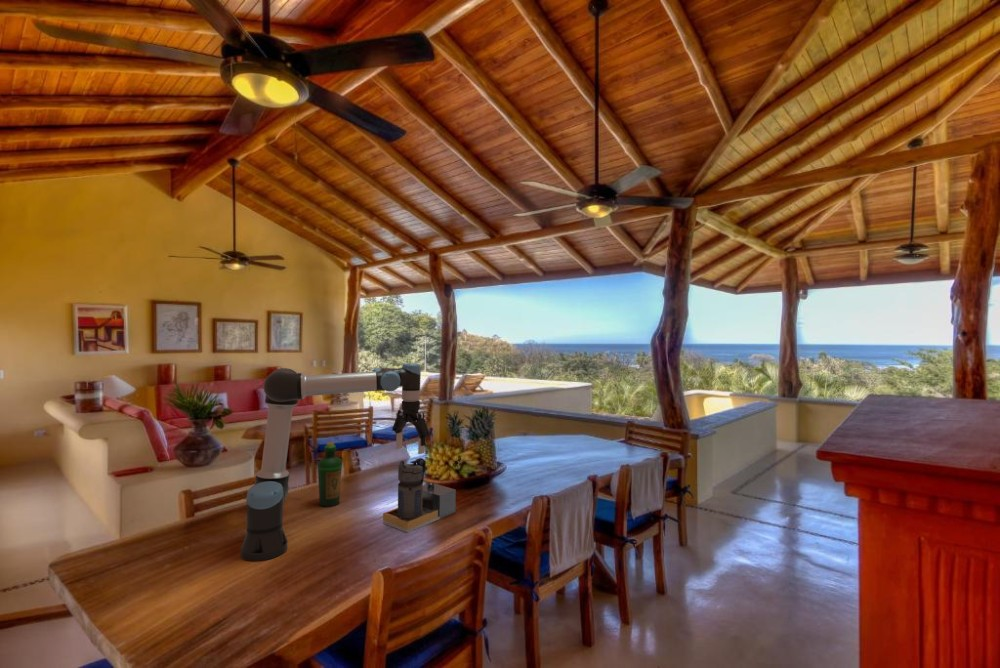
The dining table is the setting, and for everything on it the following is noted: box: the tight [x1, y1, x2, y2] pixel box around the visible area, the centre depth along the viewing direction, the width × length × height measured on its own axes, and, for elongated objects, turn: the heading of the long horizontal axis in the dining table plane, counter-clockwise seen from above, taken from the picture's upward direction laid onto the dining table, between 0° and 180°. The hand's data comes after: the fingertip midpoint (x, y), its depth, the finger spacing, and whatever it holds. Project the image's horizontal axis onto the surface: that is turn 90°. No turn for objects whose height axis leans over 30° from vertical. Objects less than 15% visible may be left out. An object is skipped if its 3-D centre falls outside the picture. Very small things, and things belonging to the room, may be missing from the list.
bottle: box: [317, 441, 343, 507], centre depth 220 cm, size 11×11×28 cm
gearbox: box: [382, 481, 457, 533], centre depth 205 cm, size 28×15×12 cm, turn 143°
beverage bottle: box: [397, 457, 426, 521], centre depth 201 cm, size 10×13×25 cm
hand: (410, 450), depth 201 cm, fingers open, 13 cm apart
